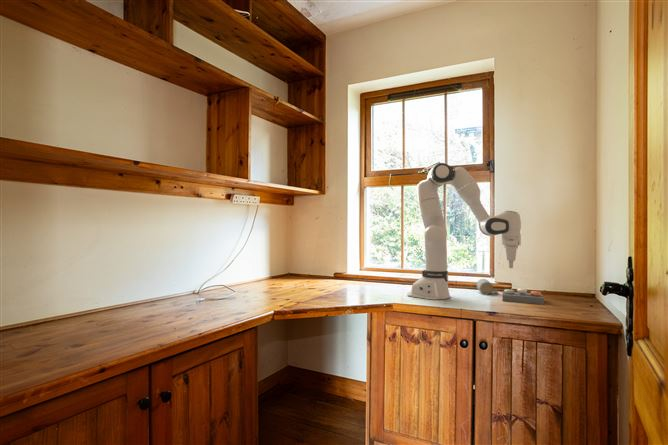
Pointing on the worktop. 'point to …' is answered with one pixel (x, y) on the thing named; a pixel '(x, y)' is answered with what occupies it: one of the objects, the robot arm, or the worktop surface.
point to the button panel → (523, 298)
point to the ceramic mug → (485, 287)
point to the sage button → (509, 291)
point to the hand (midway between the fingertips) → (511, 268)
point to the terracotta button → (535, 293)
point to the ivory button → (521, 291)
